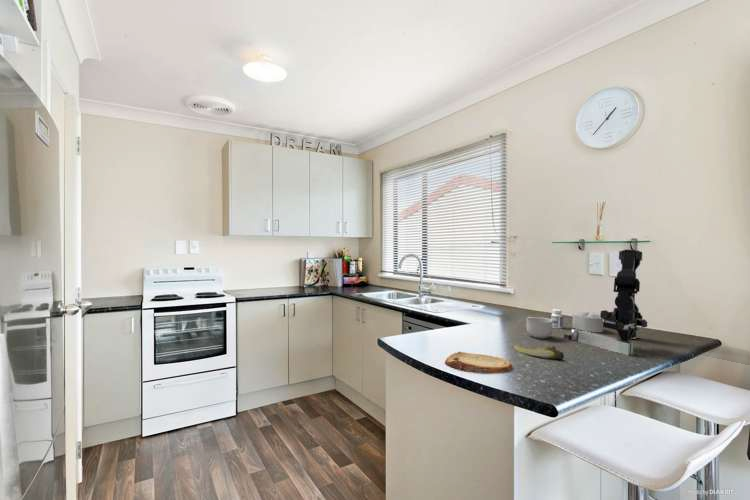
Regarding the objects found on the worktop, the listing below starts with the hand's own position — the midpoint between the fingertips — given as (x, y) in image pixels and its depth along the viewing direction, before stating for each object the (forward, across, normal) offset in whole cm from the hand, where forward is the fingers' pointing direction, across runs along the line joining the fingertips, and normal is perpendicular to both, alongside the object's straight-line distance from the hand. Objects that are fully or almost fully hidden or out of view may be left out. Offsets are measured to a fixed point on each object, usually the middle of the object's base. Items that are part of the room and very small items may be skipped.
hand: (624, 345), depth 142 cm
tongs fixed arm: (+1, +8, -7) cm, 10 cm away
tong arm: (+1, +6, -4) cm, 7 cm away
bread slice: (+2, +70, -3) cm, 70 cm away
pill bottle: (+2, -6, -37) cm, 37 cm away
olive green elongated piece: (+2, +40, -7) cm, 40 cm away
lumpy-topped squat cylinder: (+2, -17, -28) cm, 33 cm away
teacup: (+2, +18, -27) cm, 32 cm away
